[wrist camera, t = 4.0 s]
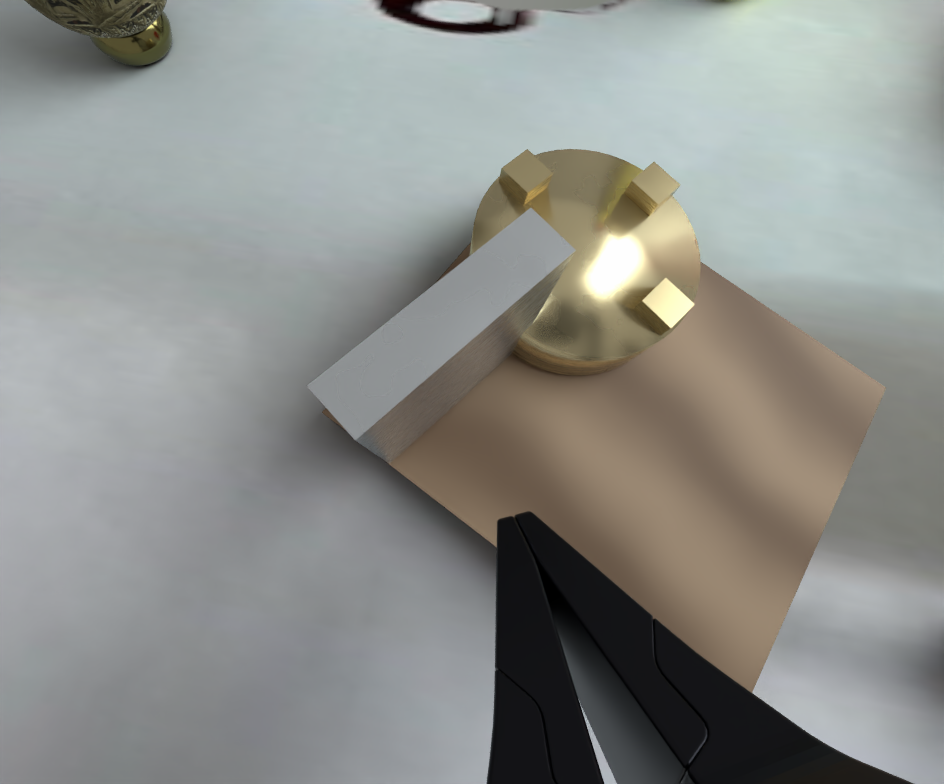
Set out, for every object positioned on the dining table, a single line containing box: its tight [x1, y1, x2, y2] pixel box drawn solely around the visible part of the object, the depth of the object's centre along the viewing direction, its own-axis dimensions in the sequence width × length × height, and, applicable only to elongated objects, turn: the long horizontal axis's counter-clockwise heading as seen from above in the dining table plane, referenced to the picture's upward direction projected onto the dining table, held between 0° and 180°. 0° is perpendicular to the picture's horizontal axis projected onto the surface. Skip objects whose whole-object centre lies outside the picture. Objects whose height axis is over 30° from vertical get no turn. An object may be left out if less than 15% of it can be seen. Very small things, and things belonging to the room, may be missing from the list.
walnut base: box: [322, 243, 886, 693], centre depth 18 cm, size 16×19×2 cm
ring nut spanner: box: [307, 149, 701, 464], centre depth 14 cm, size 16×9×7 cm, turn 134°
